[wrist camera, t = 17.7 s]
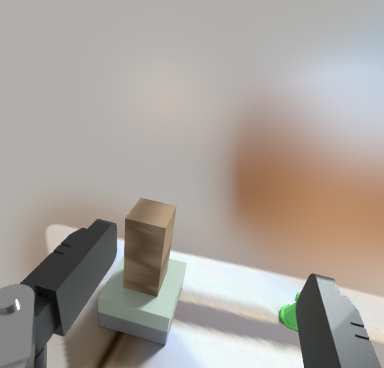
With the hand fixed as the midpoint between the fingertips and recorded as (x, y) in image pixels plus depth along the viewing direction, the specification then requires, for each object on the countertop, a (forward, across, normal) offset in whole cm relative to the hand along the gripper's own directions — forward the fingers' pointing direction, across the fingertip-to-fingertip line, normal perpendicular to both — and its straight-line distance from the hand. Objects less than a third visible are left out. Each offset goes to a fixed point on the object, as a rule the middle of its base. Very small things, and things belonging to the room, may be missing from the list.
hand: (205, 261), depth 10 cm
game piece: (+22, -16, +30) cm, 41 cm away
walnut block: (+17, +8, +23) cm, 30 cm away
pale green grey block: (+17, +8, +29) cm, 35 cm away
